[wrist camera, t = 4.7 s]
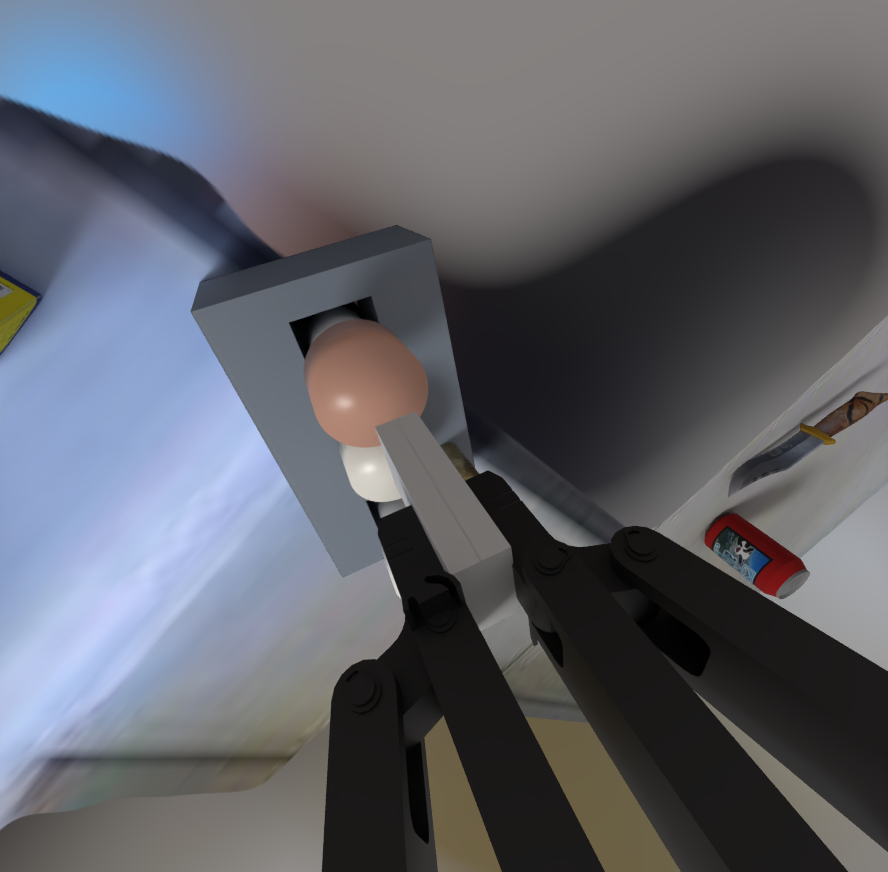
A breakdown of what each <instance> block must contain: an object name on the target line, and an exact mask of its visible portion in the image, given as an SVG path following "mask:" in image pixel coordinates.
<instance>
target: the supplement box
mask: <svg viewBox="0 0 888 872" xmlns="http://www.w3.org/2000/svg"><path fill="white" fill-rule="evenodd" d="M41 298H42V296H41V294H39V293H37V292H36V291H34V290H32V289H31V288H29V287H27V286H25V285H24V284H22V283H20V282H19V281H17V280H15V279H13V278H12V277H11V276H9V275H7V274H5V273H3V272H1V271H0V355H1V353H2V352H3V351H4V350H5V348H6V347H7V346H8V345H9V343H10V342H11V341H12V339H13V338H14V337H15V335H16V334H17V333H18V331H19V330H20V328H21V327H22V326H23V324H24V323H25V322H26V320H27V319H28V318H29V316H30V315H31V314H32V313H33V311H34V310H35V309H36V307H37V306H38V304H39V302H40V301H41Z"/></svg>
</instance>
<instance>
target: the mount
mask: <svg viewBox="0 0 888 872" xmlns="http://www.w3.org/2000/svg"><path fill="white" fill-rule="evenodd" d="M354 301H357V302H358V305H359V308H360V312H361V315H362V318H363V319H364V320H370V321H374V322H377V323H379V324H381V325H383V326H385V327H387V328H388V329H389V330H391V331H392V332H393V333H394V334H395V335H396V336H397V337H398V338H399V339H400V340H401V342H402V343H403V344H404V345H405V346H406V347H407V348H408V349H409V350H410V352H411V353H412V354H413V355H414V356H415V357H416V358H417V359H418V360H419V362H420V363H421V365H422V367H423V369H424V371H425V373H426V376H427V381H428V398H427V402H426V405H425V408H424V410H423V412H422V414H421V416H420V418H421V419H422V421H423V422H424V424H425V425H426V427H427V428H428V429H429V431H430V432H431V434H432V435H433V437H434V438H435V439H436V441H437V442H438V444H439V445H442V444H444V443H448V442H452V443H455V444H456V445H457V446H458V447H459V448H460V450H461V451H462V452H463V454H464V455H465V456H466V457H467V459H468V460H469V461H470V463H471V464H472V465H473V466H474V468H475V465H474V460H473V455H472V449H471V444H470V439H469V434H468V429H467V424H466V418H465V413H464V408H463V403H462V398H461V393H460V387H459V382H458V377H457V372H456V366H455V362H454V356H453V352H452V346H451V341H450V336H449V330H448V326H447V320H446V315H445V310H444V304H443V299H442V294H441V289H440V283H439V279H438V273H437V268H436V263H435V258H434V252H433V248H432V242H431V239H430V238H427V237H425V236H422V235H420V234H417V233H415V232H413V231H410V230H408V229H405V228H403V227H400V226H398V225H395V226H392V227H388V228H385V229H382V230H378V231H375V232H371V233H368V234H364V235H361V236H357V237H354V238H351V239H347V240H344V241H340V242H337V243H333V244H330V245H326V246H323V247H320V248H316V249H313V250H309V251H306V252H303V253H299V254H296V255H292V256H289V257H285V258H282V259H278V260H275V261H271V262H268V263H265V264H261V265H258V266H254V267H251V268H247V269H244V270H241V271H237V272H234V273H230V274H227V275H223V276H220V277H217V278H213V279H210V280H206V281H203V282H200V283H199V286H198V290H197V293H196V296H195V299H194V303H193V306H192V309H191V313H192V315H193V317H194V319H195V320H196V322H197V324H198V326H199V327H200V329H201V331H202V333H203V334H204V336H205V338H206V340H207V341H208V343H209V345H210V347H211V348H212V350H213V352H214V354H215V355H216V357H217V359H218V361H219V362H220V364H221V366H222V368H223V369H224V371H225V373H226V375H227V376H228V378H229V380H230V382H231V383H232V385H233V387H234V389H235V390H236V392H237V394H238V396H239V397H240V399H241V401H242V403H243V404H244V406H245V408H246V410H247V411H248V413H249V415H250V417H251V418H252V420H253V422H254V424H255V425H256V427H257V429H258V431H259V432H260V434H261V436H262V438H263V439H264V441H265V443H266V445H267V446H268V448H269V450H270V452H271V453H272V455H273V457H274V459H275V460H276V462H277V464H278V466H279V467H280V469H281V471H282V473H283V474H284V476H285V478H286V480H287V481H288V483H289V485H290V487H291V488H292V490H293V492H294V494H295V495H296V497H297V499H298V501H299V502H300V504H301V506H302V508H303V509H304V511H305V513H306V515H307V516H308V518H309V520H310V522H311V523H312V525H313V527H314V529H315V530H316V532H317V534H318V536H319V537H320V539H321V541H322V543H323V544H324V546H325V548H326V550H327V551H328V553H329V555H330V557H331V558H332V560H333V562H334V564H335V565H336V567H337V569H338V571H339V572H340V574H341V576H342V578H343V577H345V576H347V575H350V574H352V573H354V572H356V571H358V570H360V569H363V568H365V567H367V566H369V565H371V564H374V563H376V562H378V561H380V560H382V559H384V558H383V555H382V551H381V547H382V545H381V542H380V540H379V537H378V534H377V533H378V526H379V519H380V518H381V517H380V515H379V512H378V510H377V507H376V505H375V502H374V501H370V500H367V499H365V498H363V497H361V496H360V495H358V494H357V493H356V492H355V491H354V489H353V488H352V486H351V484H350V481H349V478H348V475H347V472H346V470H345V467H344V464H343V461H342V458H341V455H340V452H339V441H337V440H335V439H334V438H332V437H331V436H330V435H328V434H327V433H326V432H325V431H324V429H323V428H322V427H321V425H320V424H319V422H318V420H317V418H316V415H315V412H314V409H313V406H312V403H311V399H310V396H309V393H308V390H307V386H306V383H305V378H304V362H305V358H306V355H305V352H304V350H303V348H302V345H301V343H300V341H299V338H298V336H297V334H296V331H295V329H294V327H293V324H292V321H295V320H298V319H301V318H304V317H307V316H310V315H314V314H317V313H320V312H323V311H326V310H329V309H332V308H335V307H338V306H341V305H344V304H348V303H351V302H354Z"/></svg>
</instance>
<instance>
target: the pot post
mask: <svg viewBox="0 0 888 872" xmlns="http://www.w3.org/2000/svg"><path fill="white" fill-rule="evenodd" d="M440 446H441V448H442V449H443V451H444V452H445V454H446V455H447V456H448V458H449V459H450V461H451V462H452V463H453V465H454V466H455V468H456V469H457V471H458V472H459V473H460V475H461V476H462V478H463V479H464V481H465V480H467V479H469V478H472V477H474V476H476V475H479V473H478V472H477V470H476V469H475V468H474V466H473V465H472V464H471V463H470V461H469V460H468V459H467V457H466V456H465V455H464V454H463V452H462V451H461V450H460V448H459V447H458V446H457V445H456V444H455V443H452V442H448V443H444V444H442V445H440Z"/></svg>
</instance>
